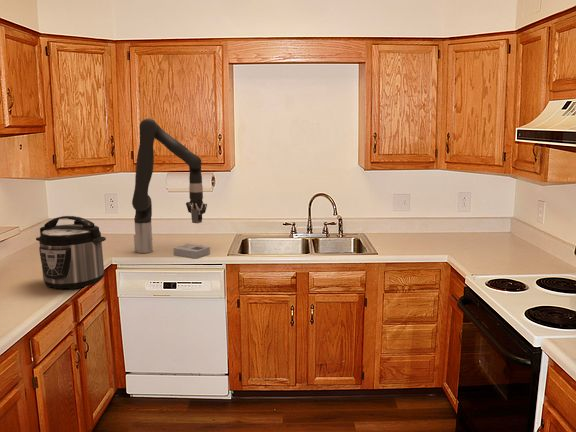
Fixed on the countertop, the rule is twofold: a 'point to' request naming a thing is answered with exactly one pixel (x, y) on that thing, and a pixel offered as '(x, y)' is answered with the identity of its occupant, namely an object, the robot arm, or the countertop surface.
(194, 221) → the grey square peg
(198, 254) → the socket plate
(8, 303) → the countertop surface
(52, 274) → the pressure cooker
